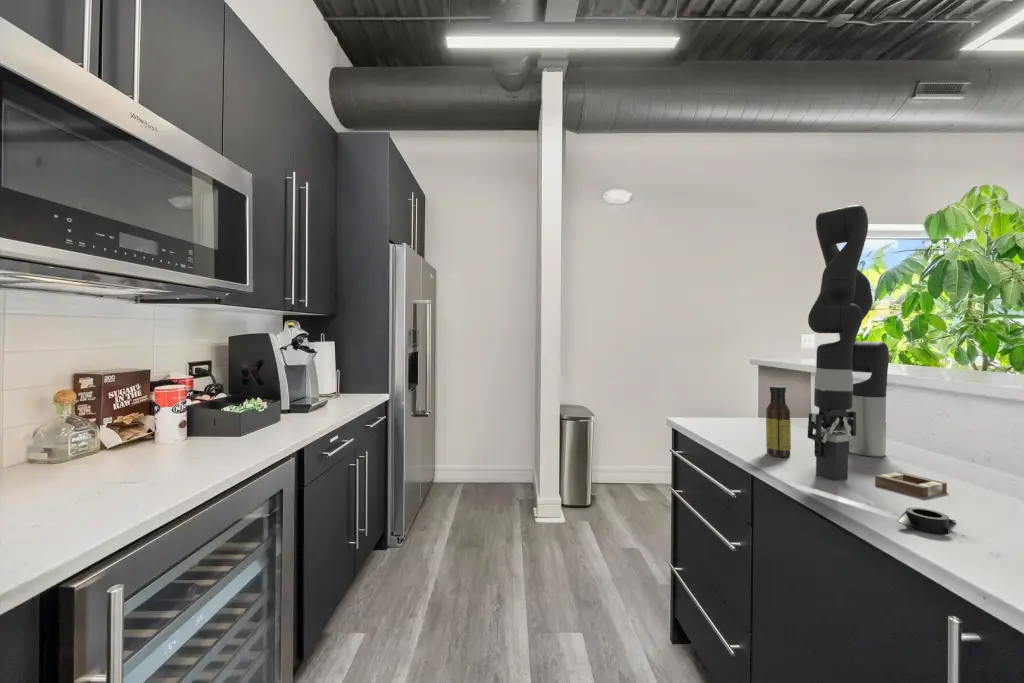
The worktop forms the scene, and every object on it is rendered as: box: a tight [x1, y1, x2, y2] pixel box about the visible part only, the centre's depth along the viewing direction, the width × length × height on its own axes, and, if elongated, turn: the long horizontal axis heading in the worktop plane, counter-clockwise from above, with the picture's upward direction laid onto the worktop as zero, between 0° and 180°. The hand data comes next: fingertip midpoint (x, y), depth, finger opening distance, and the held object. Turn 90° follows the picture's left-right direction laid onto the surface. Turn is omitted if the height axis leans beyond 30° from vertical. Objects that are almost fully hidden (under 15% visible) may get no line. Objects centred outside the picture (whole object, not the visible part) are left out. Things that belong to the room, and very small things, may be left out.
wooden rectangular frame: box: [874, 471, 948, 498], centre depth 104 cm, size 9×9×3 cm
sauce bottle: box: [765, 385, 792, 458], centre depth 136 cm, size 6×6×20 cm
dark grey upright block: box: [815, 431, 849, 482], centre depth 111 cm, size 5×5×11 cm
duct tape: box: [896, 506, 957, 536], centre depth 84 cm, size 8×10×3 cm
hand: (831, 455), depth 111 cm, fingers open, 8 cm apart
